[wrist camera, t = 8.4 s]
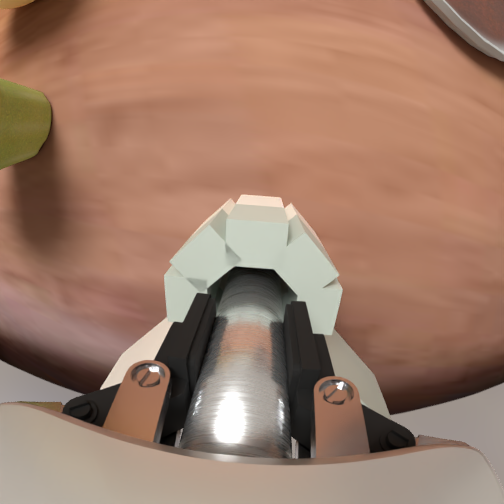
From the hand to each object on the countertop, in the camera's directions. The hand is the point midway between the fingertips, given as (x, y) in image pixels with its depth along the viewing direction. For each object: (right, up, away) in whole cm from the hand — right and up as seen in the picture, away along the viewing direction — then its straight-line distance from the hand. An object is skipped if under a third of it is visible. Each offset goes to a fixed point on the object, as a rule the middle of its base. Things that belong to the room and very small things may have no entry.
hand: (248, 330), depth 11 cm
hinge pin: (0, +1, +4) cm, 4 cm away
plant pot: (-19, +14, +6) cm, 24 cm away
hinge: (0, -1, +10) cm, 10 cm away
